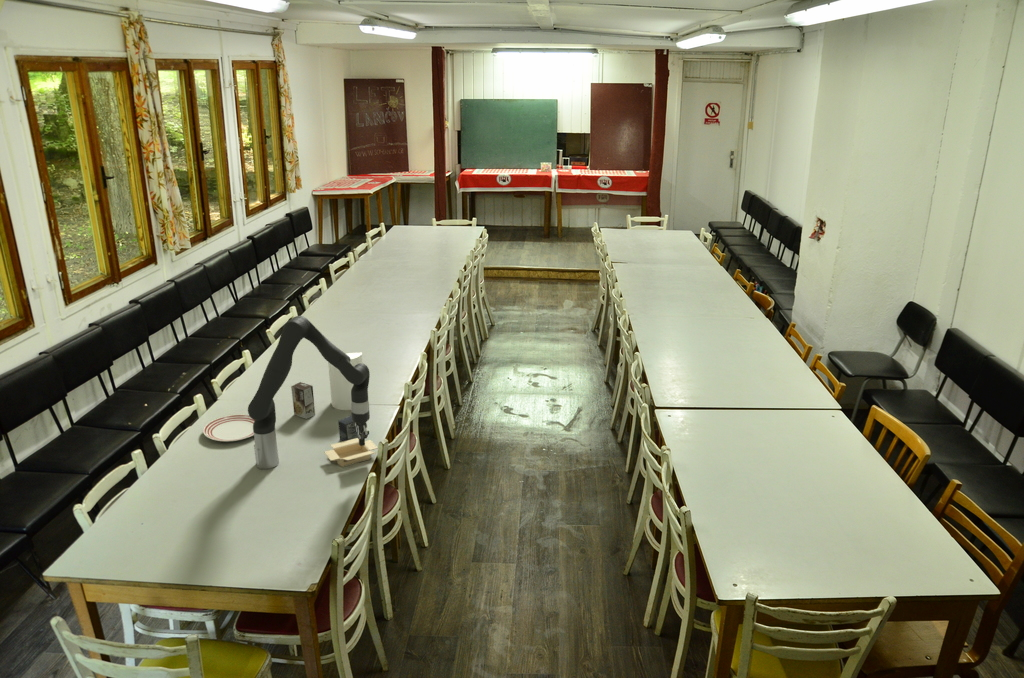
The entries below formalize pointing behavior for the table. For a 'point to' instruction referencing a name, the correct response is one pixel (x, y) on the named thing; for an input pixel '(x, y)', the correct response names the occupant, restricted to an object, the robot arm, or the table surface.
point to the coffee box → (303, 400)
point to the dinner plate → (230, 428)
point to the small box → (347, 429)
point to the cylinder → (342, 384)
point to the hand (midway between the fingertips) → (362, 445)
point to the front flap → (358, 455)
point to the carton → (349, 451)
